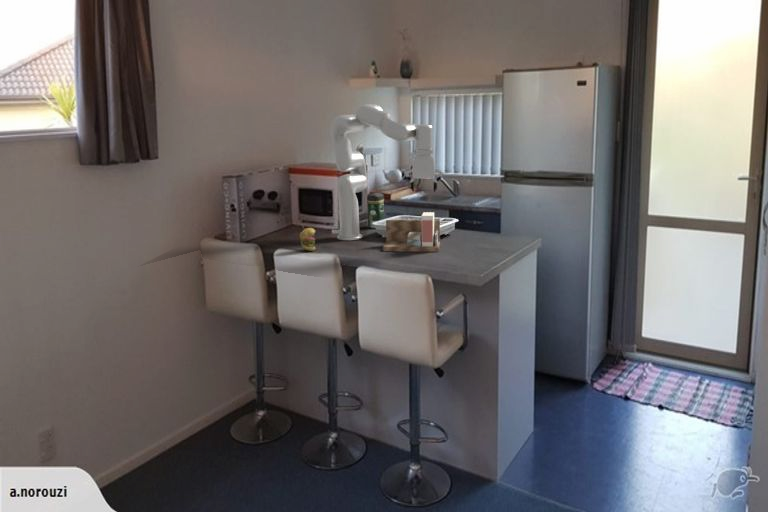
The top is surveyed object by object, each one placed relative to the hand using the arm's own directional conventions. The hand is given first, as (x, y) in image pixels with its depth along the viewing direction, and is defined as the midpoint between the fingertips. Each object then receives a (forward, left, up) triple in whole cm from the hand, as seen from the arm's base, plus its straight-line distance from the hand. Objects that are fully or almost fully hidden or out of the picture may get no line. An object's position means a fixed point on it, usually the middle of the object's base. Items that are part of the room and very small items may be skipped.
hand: (423, 191), depth 292 cm
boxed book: (+2, -1, -24) cm, 24 cm away
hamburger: (-53, -8, -27) cm, 60 cm away
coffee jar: (-30, +48, -27) cm, 62 cm away
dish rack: (-6, +27, -27) cm, 39 cm away
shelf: (-6, -1, -26) cm, 27 cm away
